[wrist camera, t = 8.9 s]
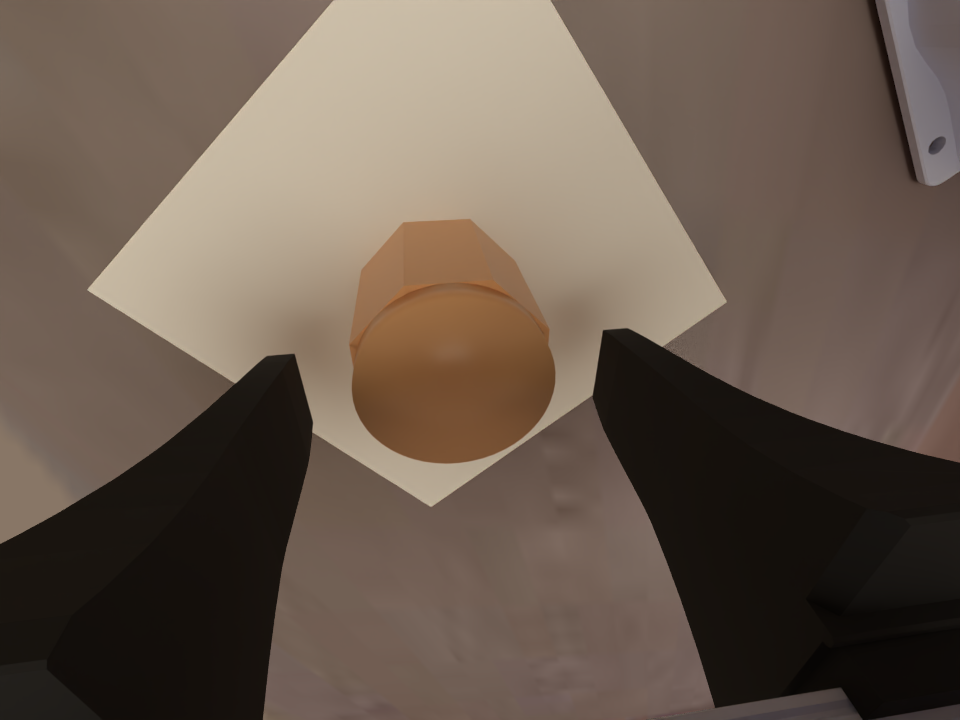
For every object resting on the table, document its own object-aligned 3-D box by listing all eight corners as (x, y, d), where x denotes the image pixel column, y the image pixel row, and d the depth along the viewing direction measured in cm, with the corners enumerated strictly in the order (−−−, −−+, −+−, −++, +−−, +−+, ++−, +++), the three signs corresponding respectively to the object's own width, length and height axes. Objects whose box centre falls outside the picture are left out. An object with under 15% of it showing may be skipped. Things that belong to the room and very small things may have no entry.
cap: (516, 216, 14) (565, 291, 10) (511, 349, 17) (548, 453, 12) (354, 224, 13) (334, 307, 9) (375, 360, 16) (366, 472, 12)
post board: (711, 289, 17) (802, 363, 14) (429, 488, 21) (436, 592, 17) (457, -136, 10) (491, -239, 7) (105, 275, 14) (-8, 366, 10)
